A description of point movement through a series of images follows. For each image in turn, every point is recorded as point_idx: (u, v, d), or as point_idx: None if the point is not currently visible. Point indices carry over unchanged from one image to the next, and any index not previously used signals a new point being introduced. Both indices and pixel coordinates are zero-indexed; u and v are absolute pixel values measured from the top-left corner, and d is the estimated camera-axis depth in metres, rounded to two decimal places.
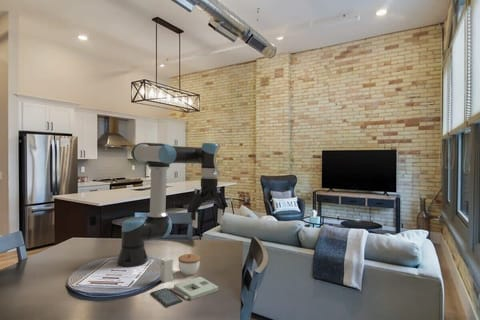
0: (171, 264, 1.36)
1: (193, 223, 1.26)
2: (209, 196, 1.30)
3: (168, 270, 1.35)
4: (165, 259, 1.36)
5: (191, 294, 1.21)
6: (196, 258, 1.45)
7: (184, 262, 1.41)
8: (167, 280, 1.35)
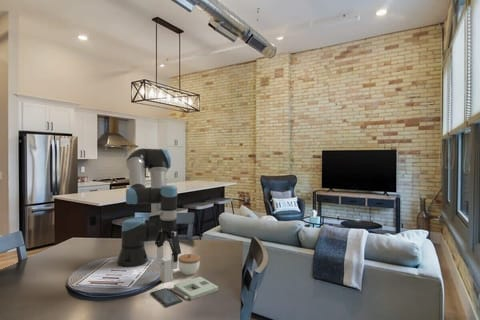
0: None
1: None
2: (165, 236, 1.36)
3: (168, 270, 1.35)
4: (165, 259, 1.36)
5: (191, 294, 1.21)
6: (196, 258, 1.45)
7: (184, 262, 1.41)
8: (167, 280, 1.35)
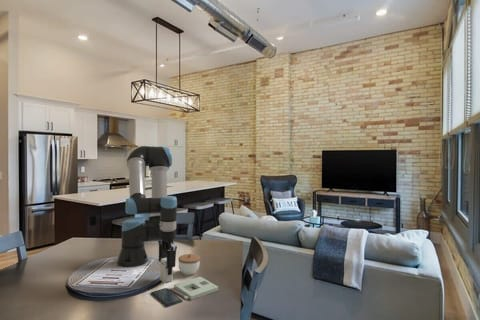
0: None
1: None
2: (164, 247, 1.36)
3: None
4: (165, 259, 1.36)
5: (191, 294, 1.21)
6: (196, 258, 1.45)
7: (184, 262, 1.41)
8: None
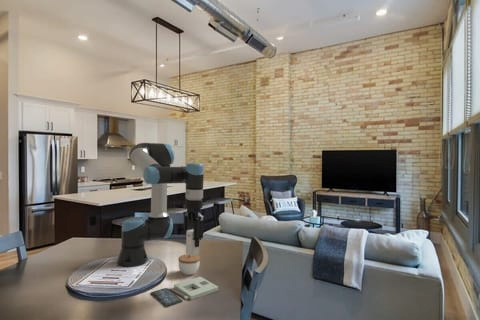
0: None
1: None
2: (190, 218, 1.27)
3: None
4: (191, 230, 1.26)
5: (191, 294, 1.21)
6: (196, 258, 1.45)
7: (184, 262, 1.41)
8: None
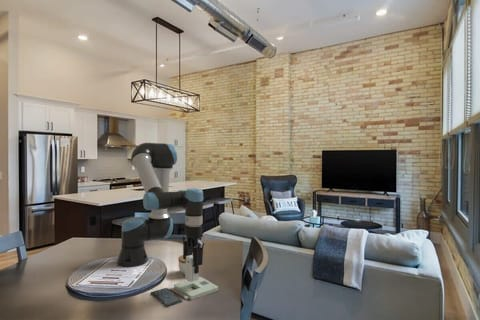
0: None
1: None
2: (190, 244, 1.27)
3: None
4: (191, 256, 1.27)
5: (191, 294, 1.21)
6: None
7: (184, 262, 1.41)
8: None
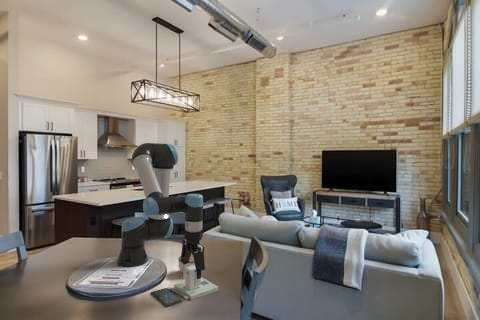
0: None
1: None
2: (190, 249, 1.27)
3: None
4: (190, 268, 1.27)
5: (191, 294, 1.21)
6: None
7: None
8: None
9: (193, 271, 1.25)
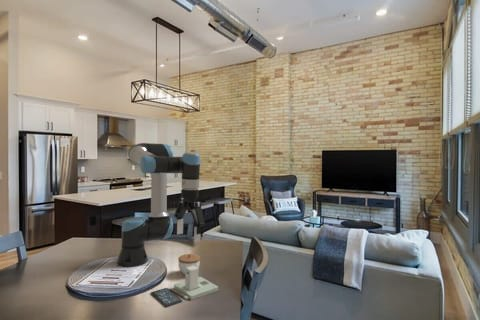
0: (197, 273, 1.27)
1: None
2: (186, 207, 1.27)
3: (194, 280, 1.26)
4: (190, 268, 1.27)
5: (191, 294, 1.21)
6: (196, 258, 1.45)
7: (184, 262, 1.41)
8: None
9: (193, 271, 1.25)
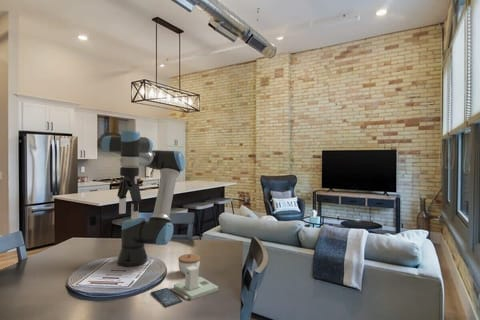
0: (197, 273, 1.27)
1: None
2: (126, 186, 1.25)
3: (194, 280, 1.26)
4: (190, 268, 1.27)
5: (191, 294, 1.21)
6: (196, 258, 1.45)
7: (184, 262, 1.41)
8: None
9: (193, 271, 1.25)
